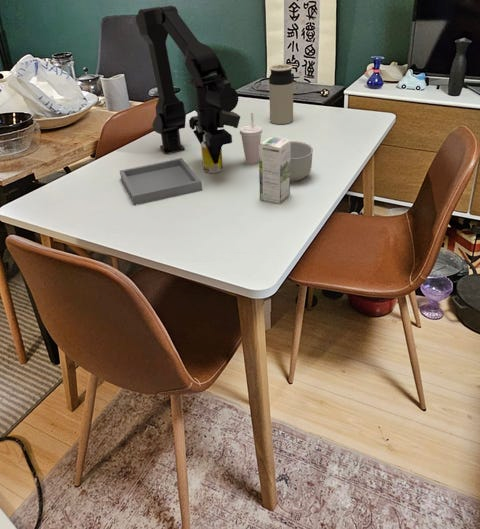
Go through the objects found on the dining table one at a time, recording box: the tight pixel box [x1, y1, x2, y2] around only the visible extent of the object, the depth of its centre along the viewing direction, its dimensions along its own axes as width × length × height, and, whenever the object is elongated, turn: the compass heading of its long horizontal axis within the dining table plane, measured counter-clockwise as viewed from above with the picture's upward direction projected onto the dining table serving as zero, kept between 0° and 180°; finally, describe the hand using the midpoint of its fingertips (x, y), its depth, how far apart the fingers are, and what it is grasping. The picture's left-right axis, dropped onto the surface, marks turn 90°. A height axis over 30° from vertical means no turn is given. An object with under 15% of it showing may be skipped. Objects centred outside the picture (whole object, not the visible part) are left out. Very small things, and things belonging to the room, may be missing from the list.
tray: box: [119, 157, 203, 206], centre depth 132 cm, size 18×18×2 cm
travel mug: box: [268, 63, 294, 125], centre depth 166 cm, size 8×8×18 cm
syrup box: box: [258, 136, 292, 205], centre depth 118 cm, size 6×6×14 cm
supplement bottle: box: [200, 133, 224, 174], centre depth 136 cm, size 6×6×10 cm
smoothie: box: [239, 112, 263, 165], centre depth 138 cm, size 6×6×14 cm
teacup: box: [290, 140, 314, 182], centre depth 130 cm, size 14×11×8 cm
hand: (212, 159), depth 137 cm, fingers closed on supplement bottle, 5 cm apart
